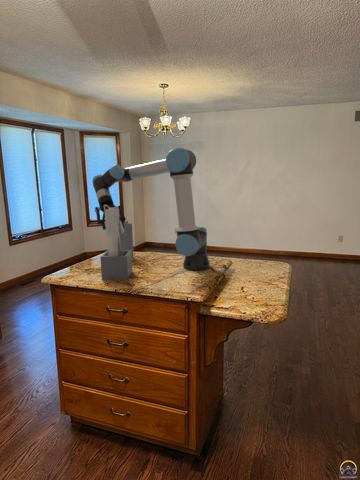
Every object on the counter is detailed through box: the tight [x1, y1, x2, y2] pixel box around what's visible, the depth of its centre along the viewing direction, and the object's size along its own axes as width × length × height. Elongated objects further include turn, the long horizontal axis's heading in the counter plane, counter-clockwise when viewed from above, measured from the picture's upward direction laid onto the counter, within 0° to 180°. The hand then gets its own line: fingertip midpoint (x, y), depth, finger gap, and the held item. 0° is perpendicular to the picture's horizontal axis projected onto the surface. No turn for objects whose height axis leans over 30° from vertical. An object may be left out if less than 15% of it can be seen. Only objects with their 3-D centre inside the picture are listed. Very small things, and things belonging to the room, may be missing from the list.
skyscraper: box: [104, 205, 121, 256], centre depth 165 cm, size 8×8×28 cm
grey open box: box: [99, 250, 134, 281], centre depth 168 cm, size 13×13×12 cm
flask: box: [118, 220, 134, 259], centre depth 207 cm, size 17×5×25 cm, turn 65°
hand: (115, 233), depth 162 cm, fingers closed on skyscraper, 7 cm apart
